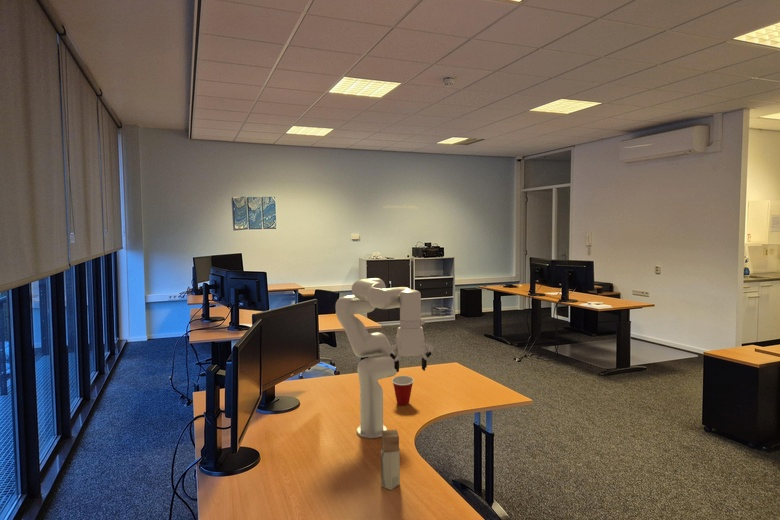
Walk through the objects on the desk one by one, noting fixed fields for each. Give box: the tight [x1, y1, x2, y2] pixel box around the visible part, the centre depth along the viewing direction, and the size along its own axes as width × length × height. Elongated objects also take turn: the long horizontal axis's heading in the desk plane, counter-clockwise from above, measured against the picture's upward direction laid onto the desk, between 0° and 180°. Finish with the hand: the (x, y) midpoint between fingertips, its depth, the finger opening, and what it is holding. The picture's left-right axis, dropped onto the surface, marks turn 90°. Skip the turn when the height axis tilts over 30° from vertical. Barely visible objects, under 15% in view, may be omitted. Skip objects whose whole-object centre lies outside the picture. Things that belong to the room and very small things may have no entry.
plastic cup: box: [391, 375, 415, 406], centre depth 228 cm, size 11×11×12 cm
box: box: [380, 447, 401, 491], centre depth 157 cm, size 5×4×13 cm
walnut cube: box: [381, 429, 400, 452], centre depth 156 cm, size 5×5×5 cm
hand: (410, 370), depth 173 cm, fingers open, 9 cm apart
